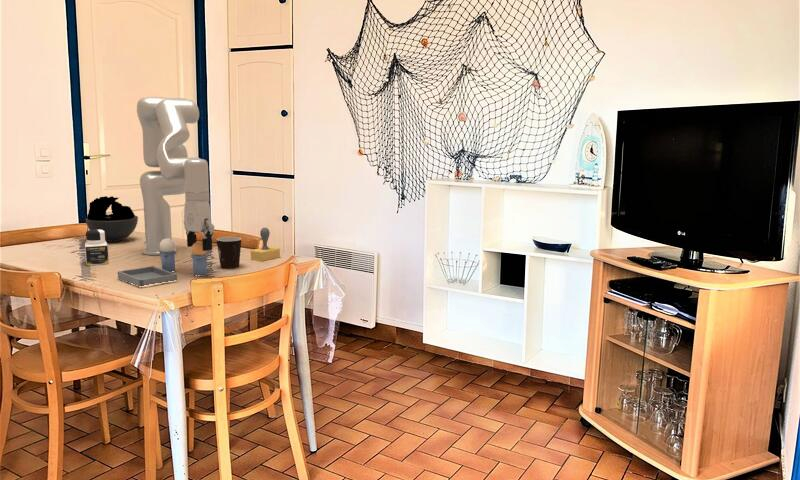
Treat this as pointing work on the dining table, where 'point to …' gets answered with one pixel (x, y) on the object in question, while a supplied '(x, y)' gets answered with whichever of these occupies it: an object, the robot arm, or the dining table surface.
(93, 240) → the medicine bottle
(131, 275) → the tray
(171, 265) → the cup
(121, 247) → the dining table surface
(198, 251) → the ball
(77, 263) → the dining table surface
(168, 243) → the ball
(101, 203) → the coal bowl
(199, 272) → the cup
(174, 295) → the dining table surface
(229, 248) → the coffee mug
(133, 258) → the dining table surface
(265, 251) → the rubber stamp
